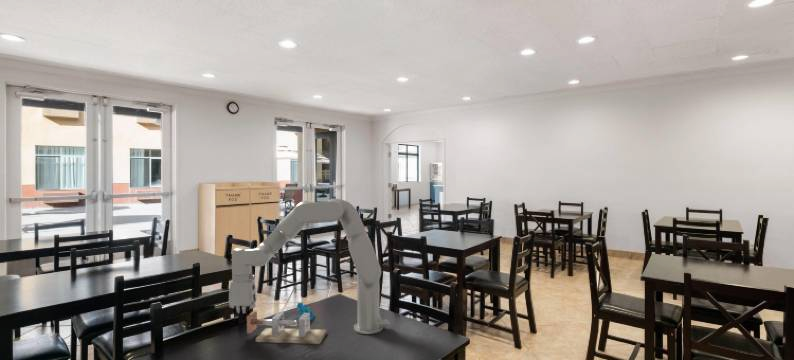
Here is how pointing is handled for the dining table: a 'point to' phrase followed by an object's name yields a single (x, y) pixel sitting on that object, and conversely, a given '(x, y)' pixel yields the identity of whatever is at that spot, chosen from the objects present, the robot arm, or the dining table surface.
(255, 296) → the robot arm
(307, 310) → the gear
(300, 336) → the bearing blocks
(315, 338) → the base plate
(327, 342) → the dining table surface
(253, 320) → the shaft
